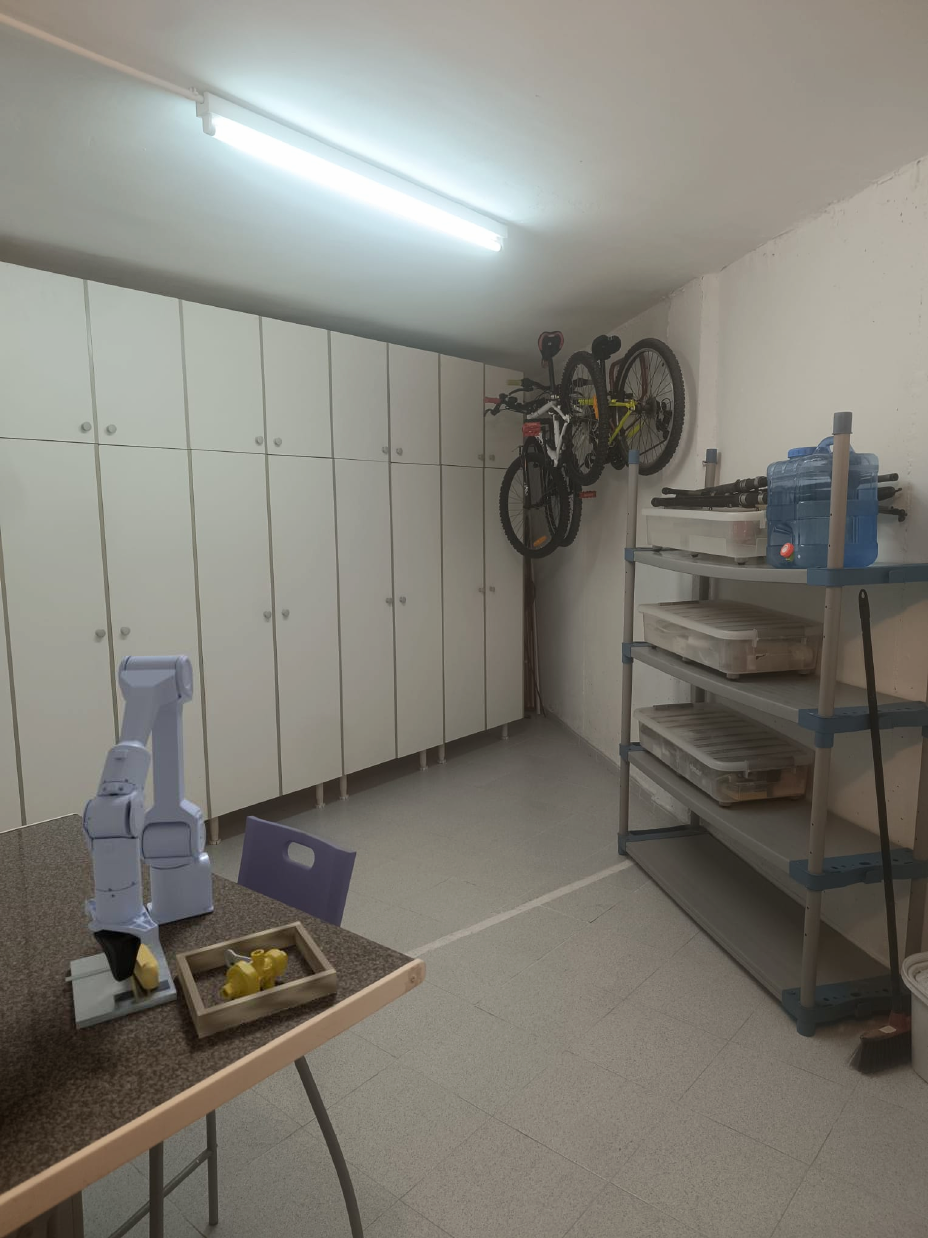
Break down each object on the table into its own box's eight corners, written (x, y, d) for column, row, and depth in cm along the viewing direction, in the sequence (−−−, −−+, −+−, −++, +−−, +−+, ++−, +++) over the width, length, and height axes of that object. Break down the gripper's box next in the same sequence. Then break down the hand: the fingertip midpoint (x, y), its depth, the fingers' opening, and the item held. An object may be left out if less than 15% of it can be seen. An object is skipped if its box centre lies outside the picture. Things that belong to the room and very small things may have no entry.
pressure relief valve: (298, 979, 102) (240, 1018, 94) (243, 967, 109) (185, 1002, 101) (292, 940, 102) (233, 976, 94) (237, 930, 109) (178, 963, 101)
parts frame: (299, 939, 114) (299, 921, 113) (336, 993, 100) (336, 972, 100) (177, 975, 104) (176, 955, 104) (199, 1039, 91) (198, 1016, 90)
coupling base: (159, 944, 113) (158, 937, 112) (176, 999, 99) (176, 991, 99) (64, 969, 106) (63, 962, 106) (69, 1032, 92) (68, 1023, 92)
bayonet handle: (117, 957, 106) (116, 936, 106) (143, 949, 109) (142, 928, 108) (139, 994, 98) (138, 971, 97) (167, 984, 100) (166, 961, 99)
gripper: (60, 879, 99) (66, 974, 101) (120, 908, 91) (126, 1011, 93) (110, 861, 105) (115, 951, 106) (170, 886, 97) (175, 983, 98)
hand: (123, 977), depth 100 cm, fingers closed
